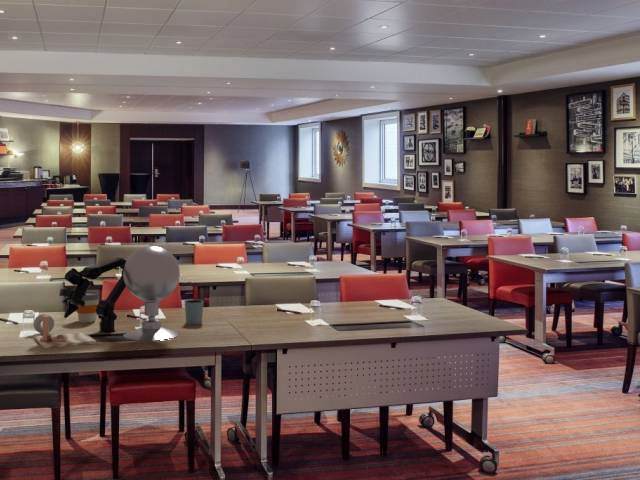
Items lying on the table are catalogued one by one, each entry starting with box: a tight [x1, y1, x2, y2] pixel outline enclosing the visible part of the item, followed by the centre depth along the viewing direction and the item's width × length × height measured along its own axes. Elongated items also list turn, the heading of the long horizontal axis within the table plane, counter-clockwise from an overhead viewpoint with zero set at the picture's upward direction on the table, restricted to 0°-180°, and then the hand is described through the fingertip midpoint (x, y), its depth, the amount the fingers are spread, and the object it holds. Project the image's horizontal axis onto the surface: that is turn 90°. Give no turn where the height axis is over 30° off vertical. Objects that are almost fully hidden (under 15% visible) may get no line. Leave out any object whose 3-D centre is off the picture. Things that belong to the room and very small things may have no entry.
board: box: [33, 332, 97, 349], centre depth 407 cm, size 24×22×4 cm
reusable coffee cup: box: [76, 291, 100, 324], centre depth 456 cm, size 13×13×15 cm
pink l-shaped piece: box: [40, 316, 67, 341], centre depth 402 cm, size 12×6×11 cm, turn 98°
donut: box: [32, 313, 55, 334], centre depth 422 cm, size 10×4×10 cm, turn 114°
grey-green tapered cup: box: [184, 299, 204, 325], centre depth 458 cm, size 10×10×12 cm
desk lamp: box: [122, 245, 181, 342], centre depth 423 cm, size 28×28×45 cm
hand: (64, 317), depth 412 cm, fingers closed
